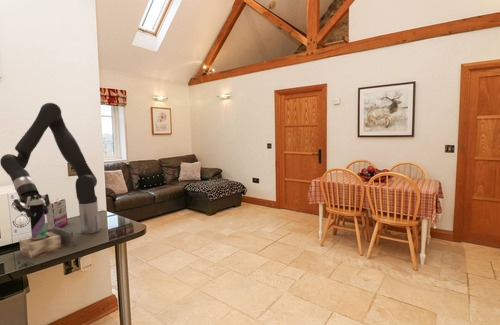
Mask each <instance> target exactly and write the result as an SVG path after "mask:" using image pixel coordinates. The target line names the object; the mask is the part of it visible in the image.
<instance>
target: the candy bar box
mask: <svg viewBox="0 0 500 325" xmlns="http://www.w3.org/2000/svg"><path fill="white" fill-rule="evenodd" d="M47 208H48V210H49V211H48V213H47V214H46V215H45V218H46V223H47V225H46V226H47V230H48V231H51V230H52V231H53V227H59V228H62V227H64V226H66V225H68V224H69V223H68V222H69V221H68V214H67V204H66V198H57V199H54V200H51V201H50V204H49V206H48V207H47Z"/></svg>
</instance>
